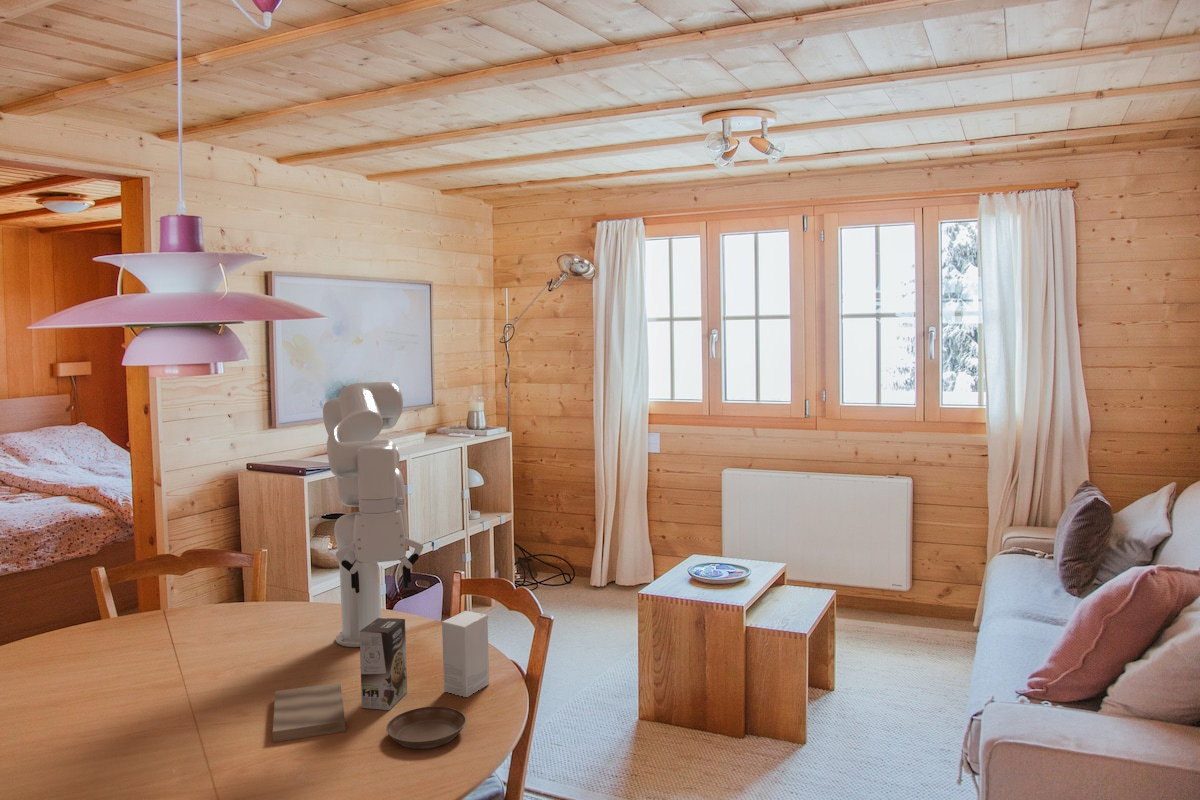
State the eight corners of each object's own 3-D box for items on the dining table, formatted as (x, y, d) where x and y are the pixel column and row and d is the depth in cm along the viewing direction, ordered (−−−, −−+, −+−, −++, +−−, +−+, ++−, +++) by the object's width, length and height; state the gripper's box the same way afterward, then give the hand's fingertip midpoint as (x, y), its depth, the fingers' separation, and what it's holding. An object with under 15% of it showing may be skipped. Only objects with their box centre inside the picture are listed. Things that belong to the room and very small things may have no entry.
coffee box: (390, 711, 182) (387, 632, 180) (360, 708, 183) (357, 630, 182) (408, 692, 191) (406, 617, 189) (380, 690, 192) (377, 616, 191)
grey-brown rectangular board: (275, 700, 188) (275, 691, 188) (340, 691, 192) (340, 682, 192) (273, 742, 169) (272, 731, 169) (345, 731, 173) (345, 721, 173)
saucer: (389, 760, 162) (388, 745, 161) (384, 725, 176) (384, 712, 176) (471, 748, 166) (471, 733, 166) (461, 715, 180) (460, 701, 180)
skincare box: (467, 679, 197) (465, 609, 196) (491, 685, 194) (490, 614, 193) (442, 693, 190) (440, 620, 189) (466, 699, 187) (464, 625, 186)
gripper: (419, 499, 190) (422, 580, 191) (333, 506, 184) (336, 588, 185) (423, 505, 182) (426, 589, 184) (334, 512, 177) (338, 598, 178)
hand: (381, 588), depth 184 cm, fingers open, 9 cm apart
